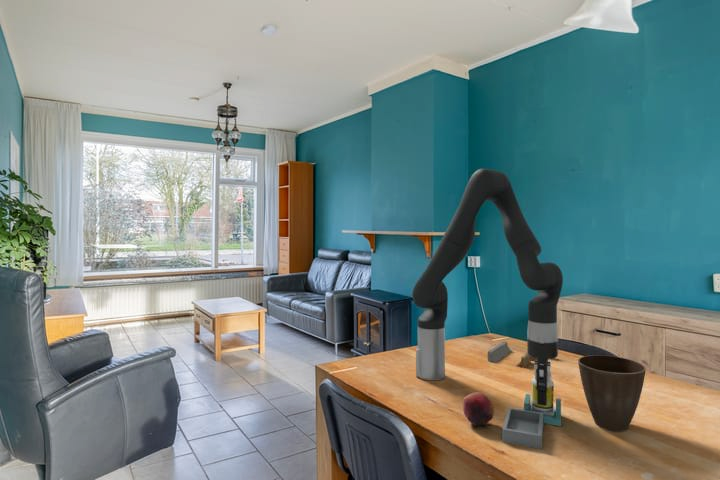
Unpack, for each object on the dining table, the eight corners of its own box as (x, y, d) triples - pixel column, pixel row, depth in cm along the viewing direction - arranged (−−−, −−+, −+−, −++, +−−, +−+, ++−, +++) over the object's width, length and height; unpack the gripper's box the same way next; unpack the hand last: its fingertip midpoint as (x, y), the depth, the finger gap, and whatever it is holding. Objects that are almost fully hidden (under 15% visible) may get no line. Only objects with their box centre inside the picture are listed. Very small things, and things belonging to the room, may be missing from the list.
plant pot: (618, 444, 101) (618, 376, 101) (565, 418, 115) (565, 359, 114) (659, 431, 107) (659, 367, 107) (603, 409, 121) (604, 352, 120)
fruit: (492, 419, 115) (492, 389, 115) (495, 432, 108) (495, 401, 107) (463, 416, 117) (462, 387, 117) (463, 429, 109) (463, 398, 109)
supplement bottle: (555, 412, 113) (555, 375, 112) (533, 411, 114) (533, 374, 113) (550, 404, 118) (551, 368, 118) (530, 402, 119) (529, 367, 119)
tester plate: (530, 412, 115) (530, 409, 115) (531, 406, 119) (531, 402, 119) (553, 416, 113) (553, 412, 113) (554, 409, 117) (554, 406, 116)
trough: (502, 441, 103) (502, 429, 103) (508, 418, 115) (508, 407, 115) (541, 448, 99) (541, 436, 99) (543, 424, 112) (543, 412, 112)
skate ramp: (497, 346, 187) (497, 329, 187) (587, 360, 166) (587, 341, 166) (470, 363, 164) (470, 344, 163) (571, 382, 142) (571, 360, 142)
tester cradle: (523, 419, 114) (523, 403, 114) (525, 409, 121) (525, 393, 121) (561, 426, 111) (560, 408, 111) (560, 415, 117) (560, 398, 117)
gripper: (529, 330, 123) (529, 389, 124) (525, 342, 110) (525, 408, 111) (557, 332, 120) (557, 393, 121) (557, 346, 107) (557, 413, 108)
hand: (542, 400), depth 116 cm, fingers closed on supplement bottle, 5 cm apart
